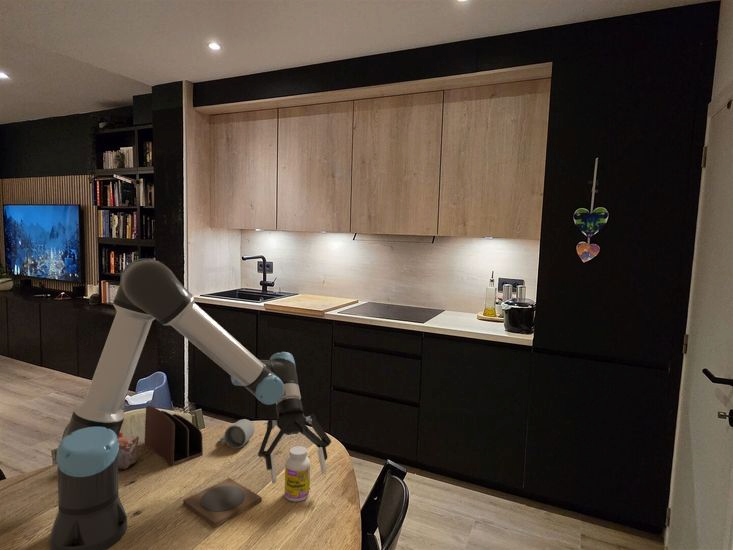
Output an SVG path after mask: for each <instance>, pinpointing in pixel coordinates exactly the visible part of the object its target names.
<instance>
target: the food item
mask: <svg viewBox="0 0 733 550" xmlns="http://www.w3.org/2000/svg"><path fill="white" fill-rule="evenodd" d="M117 439H118V443H119V451H118V470H126V469H128V468H130V466H132V465H134V463H136V462H137V461H138V444H139V436H126V435H125V436H123V433H122V432H119V435H118V438H117Z"/></svg>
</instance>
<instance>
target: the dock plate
mask: <svg viewBox="0 0 733 550" xmlns="http://www.w3.org/2000/svg"><path fill="white" fill-rule="evenodd" d="M262 498H263V497H262V496H261V495H259V494H257V493H255V492H254V491H252V490H251V489H249V488H247V487H246V486H243V485H242V484H240V483H239V482H237V481H235V480H234V479H232V478H231V477H229V478H226V479H224V480H222V481H220V482H218V483H216V484H214V485H212V486H210V487H208V488H205V489H203V490H202V491H200V492H196V493H194V494H193V495H191V496H189V497H187V498H184V499H183V500H182V501H183V502H182V504H183V506H184V507H186V508H188V509H189V510H190V511H191V512H193V513H195V514H196V515H197V516H198V517H200V518H201V519H202V520H204V521H205V522H207V523H208V524H210V525H211V526H212V527H214V528H215V529H216V528H218V527H219V526H220V525H222V524H225V523H226V522H228V521H230V520H232V519H233V518H234V517H237V516H238V515H240V514H242V513H244V512H245V511H247V510H249V509H251V508H253V507H254V506H256V505H257V504H260V503H261V502H262V501H263V500H262Z"/></svg>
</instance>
